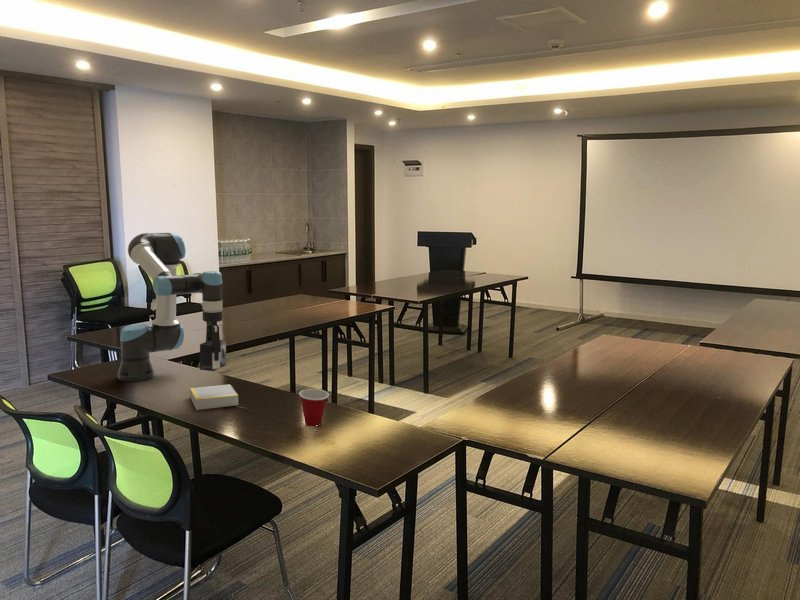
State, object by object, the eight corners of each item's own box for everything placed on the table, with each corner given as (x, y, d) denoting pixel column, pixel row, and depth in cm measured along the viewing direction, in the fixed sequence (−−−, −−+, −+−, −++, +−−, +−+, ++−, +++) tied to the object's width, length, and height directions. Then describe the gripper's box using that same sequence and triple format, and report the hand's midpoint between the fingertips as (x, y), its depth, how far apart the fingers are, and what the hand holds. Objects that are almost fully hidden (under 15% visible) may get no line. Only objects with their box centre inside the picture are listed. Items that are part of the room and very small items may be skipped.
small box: (214, 371, 245) (214, 345, 243) (199, 370, 246) (198, 344, 244) (227, 365, 255) (226, 339, 253) (212, 363, 256) (211, 338, 255)
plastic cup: (316, 431, 224) (316, 399, 222) (292, 425, 229) (292, 393, 227) (334, 423, 233) (335, 391, 231) (311, 417, 238) (312, 386, 237)
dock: (190, 397, 256) (190, 387, 256) (230, 393, 263) (230, 384, 263) (196, 409, 242) (196, 399, 242) (238, 405, 249) (238, 395, 249)
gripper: (197, 306, 256) (198, 358, 259) (207, 316, 235) (208, 373, 238) (216, 305, 259) (217, 356, 263) (228, 315, 238) (228, 371, 241)
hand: (213, 364), depth 250 cm, fingers closed on small box, 12 cm apart
